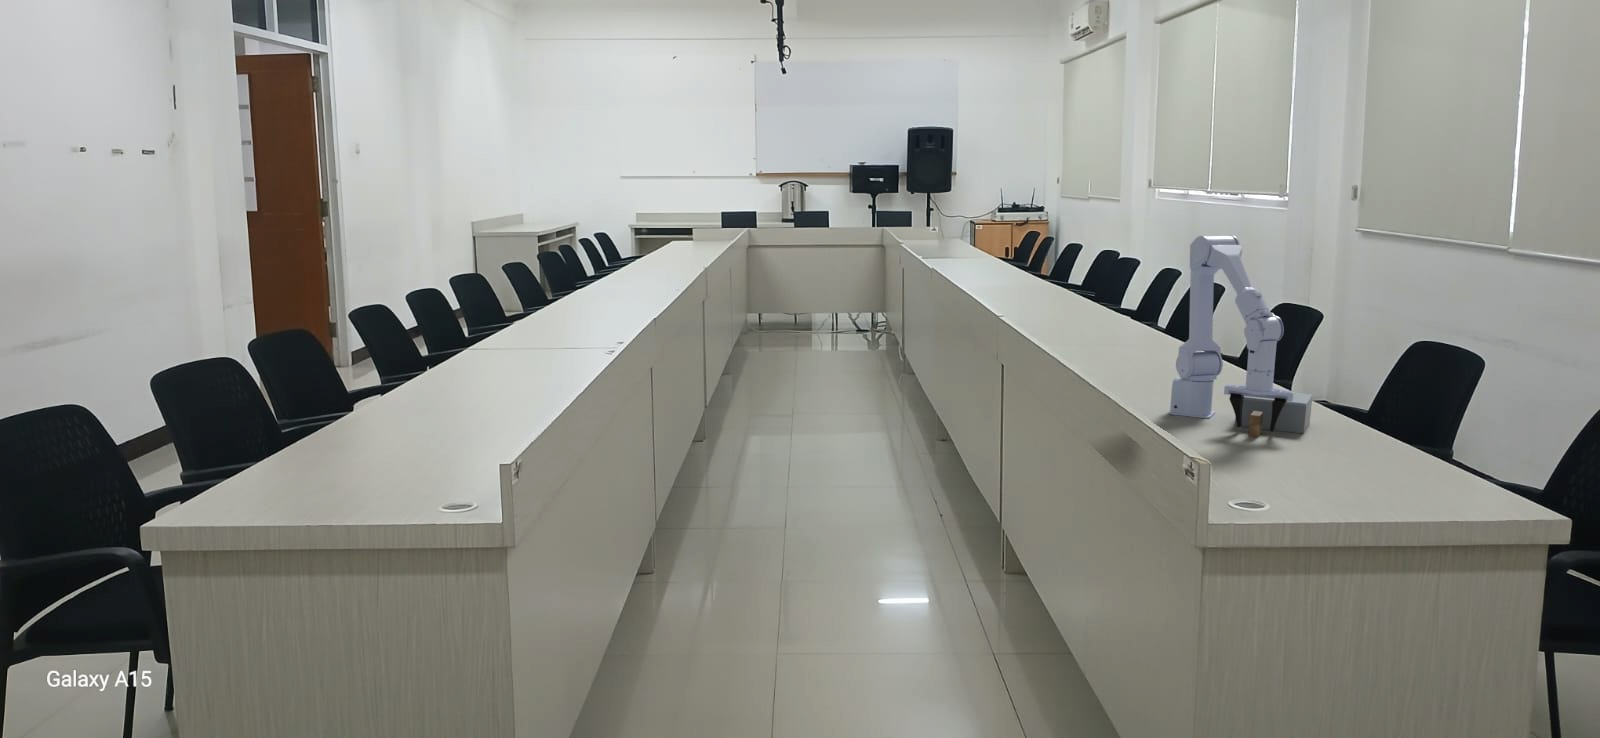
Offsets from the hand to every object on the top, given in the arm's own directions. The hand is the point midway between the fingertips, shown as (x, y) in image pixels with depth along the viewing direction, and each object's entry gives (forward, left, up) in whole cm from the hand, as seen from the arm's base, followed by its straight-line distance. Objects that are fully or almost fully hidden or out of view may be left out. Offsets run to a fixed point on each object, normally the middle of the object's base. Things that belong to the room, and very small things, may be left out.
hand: (1255, 428), depth 264 cm
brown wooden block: (0, 0, -2) cm, 2 cm away
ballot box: (+2, +13, -1) cm, 13 cm away
